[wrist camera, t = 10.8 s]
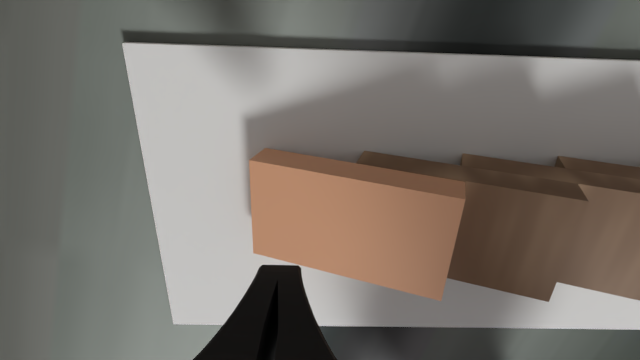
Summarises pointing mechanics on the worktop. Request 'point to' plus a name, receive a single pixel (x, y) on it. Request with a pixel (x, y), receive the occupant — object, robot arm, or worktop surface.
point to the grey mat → (348, 145)
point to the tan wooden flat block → (356, 219)
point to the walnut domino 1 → (505, 225)
